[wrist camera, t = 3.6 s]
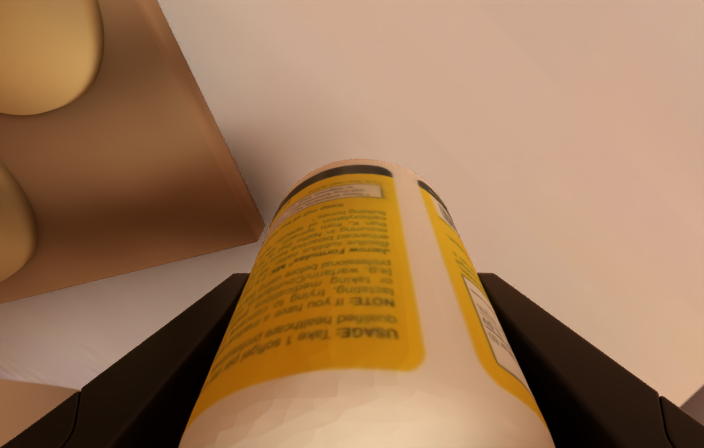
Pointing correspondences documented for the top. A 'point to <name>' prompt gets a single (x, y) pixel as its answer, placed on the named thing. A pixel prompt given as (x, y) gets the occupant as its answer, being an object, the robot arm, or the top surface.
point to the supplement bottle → (364, 330)
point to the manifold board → (106, 148)
